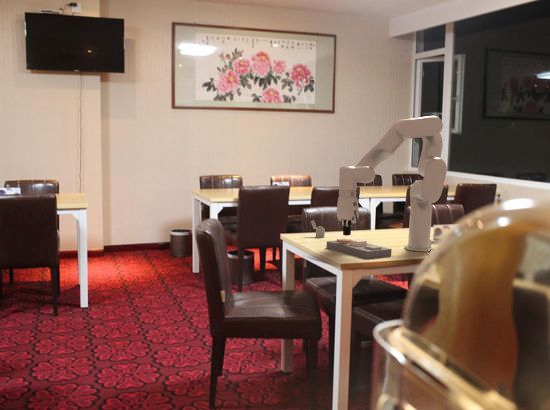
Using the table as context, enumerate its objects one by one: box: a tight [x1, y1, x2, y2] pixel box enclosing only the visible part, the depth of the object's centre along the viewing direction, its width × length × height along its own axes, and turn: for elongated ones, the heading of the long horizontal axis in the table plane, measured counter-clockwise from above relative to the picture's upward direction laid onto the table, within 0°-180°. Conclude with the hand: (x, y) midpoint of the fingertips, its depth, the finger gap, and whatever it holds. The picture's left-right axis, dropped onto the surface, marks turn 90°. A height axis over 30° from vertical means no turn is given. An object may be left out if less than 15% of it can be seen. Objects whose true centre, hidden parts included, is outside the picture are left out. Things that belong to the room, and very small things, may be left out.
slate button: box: [365, 244, 383, 250], centre depth 251 cm, size 5×5×3 cm
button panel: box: [326, 239, 392, 260], centre depth 258 cm, size 14×26×3 cm, turn 35°
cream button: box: [350, 238, 368, 247], centre depth 258 cm, size 5×5×3 cm
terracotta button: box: [336, 238, 350, 243], centre depth 265 cm, size 5×5×3 cm
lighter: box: [310, 219, 326, 238], centre depth 294 cm, size 7×2×8 cm, turn 64°
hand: (346, 235), depth 265 cm, fingers closed
